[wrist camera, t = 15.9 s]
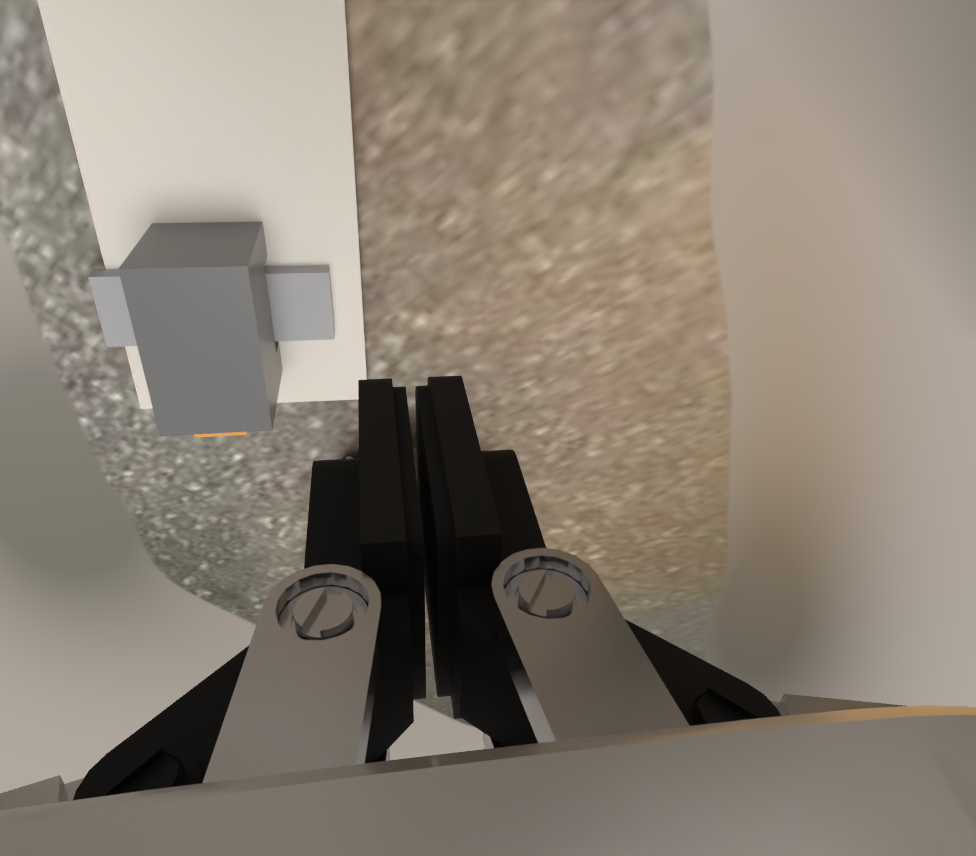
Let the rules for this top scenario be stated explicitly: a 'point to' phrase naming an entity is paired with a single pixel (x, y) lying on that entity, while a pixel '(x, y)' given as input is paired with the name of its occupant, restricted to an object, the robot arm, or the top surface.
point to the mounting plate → (223, 157)
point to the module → (204, 327)
